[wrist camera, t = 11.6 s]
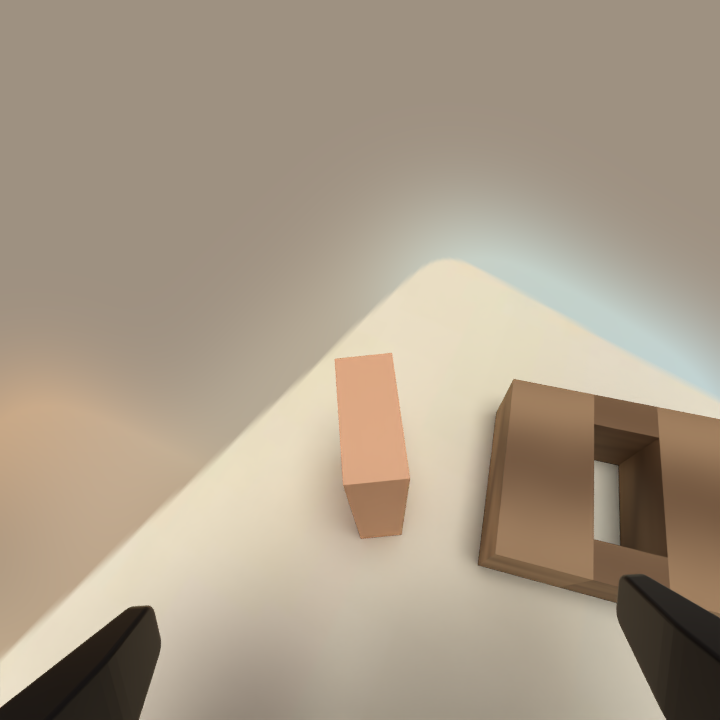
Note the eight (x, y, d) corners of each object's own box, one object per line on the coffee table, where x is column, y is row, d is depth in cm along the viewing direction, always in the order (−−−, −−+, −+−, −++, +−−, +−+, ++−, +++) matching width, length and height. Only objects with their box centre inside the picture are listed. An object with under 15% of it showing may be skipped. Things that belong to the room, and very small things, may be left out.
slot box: (712, 628, 19) (783, 630, 16) (477, 565, 21) (495, 553, 18) (693, 454, 23) (747, 424, 20) (496, 412, 25) (513, 378, 21)
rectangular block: (401, 534, 22) (410, 478, 13) (361, 538, 22) (343, 485, 13) (390, 448, 24) (391, 353, 15) (353, 452, 24) (334, 358, 15)
